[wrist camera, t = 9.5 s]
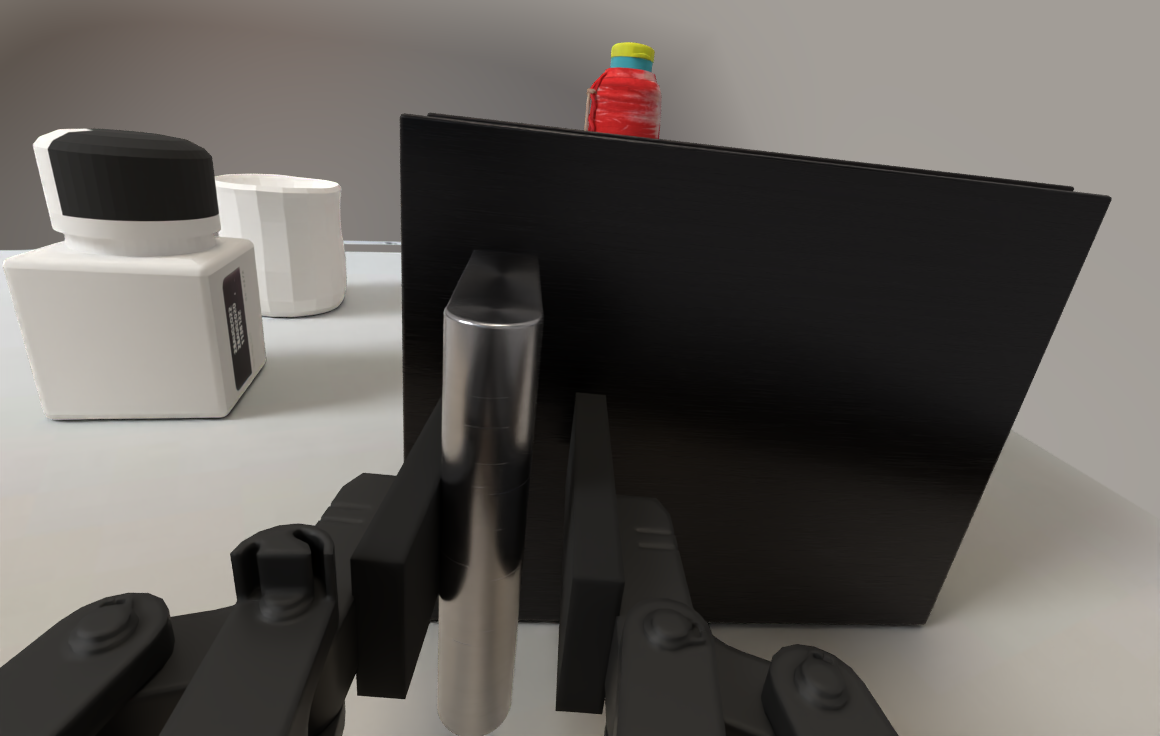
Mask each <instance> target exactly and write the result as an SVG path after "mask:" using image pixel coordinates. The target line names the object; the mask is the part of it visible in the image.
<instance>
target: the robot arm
mask: <svg viewBox="0 0 1160 736" xmlns="http://www.w3.org/2000/svg"><path fill="white" fill-rule="evenodd" d="M441 447H442V396H441V397H440V399H439V401H438V403H437V405H436V406H435V408H434V410H433V412H432V413H431V415H430V417H429V419H428V421H427V422H426V424H425V426H424V428H423V430H422V431H421V433H420V435H419V437H418V438H417V440H416V442H415V444H414V446H413V447H412V449H411V451H410V453H409V455H408V456H407V458H406V460H405V462H404V463H403V465H402V467H401V469H400V471H399V472H398V474H397V476H392V475H381V474H370V473H362V474H361V475H359V476H358V477H356V478H355V479H353V480H352V481H350V482H349V483H347V484H346V485H344V486H343V487H342V488H341V490H340V491H339V493H338V494H337V496H336V497H335V498H334V500H333V501H332V503H331V507H330V506H329V507H328V508H327V510H326V511H325V513H324V514H323V516H322V517H321V521H318V523H317V524H316V526H313V525H306V524H289V525H279V526H276V527H273V528H270V529H266V530H263V531H260V532H258V533H256V534H255V535H253V536H251V537H249V538H248V539H246V540H244V541H242V542H241V543H240V544H239V545H238V546H237V547H236V548H235V549H234V550H233V551H232V552H231V553H230V556H231V562H232V569H233V576H234V582H235V589H236V596H237V602H236V604H235V605H233V606H230V607H225V608H221V609H217V610H211V611H205V612H199V613H193V614H186V615H180V616H174V617H170V613H169V609H168V607H167V606H166V604H165V602H164V601H163V599H161V598H159V597H157V596H154V595H152V594H149V593H125V594H121V595H116V596H111V597H106V598H103V599H101V600H98V601H96V602H94V603H91V604H89V605H86V606H84V607H81V608H80V609H78V610H76V611H75V612H73V613H72V614H70V615H69V616H67V617H65V618H64V619H62V620H61V621H59V622H58V623H57V624H55V625H54V626H53V627H51V628H50V629H49V630H48V631H46V632H45V633H44V634H43V635H41V636H40V637H39V638H38V639H36V640H35V641H34V642H32V643H31V644H30V645H29V646H27V647H26V648H25V649H24V650H22V651H21V652H20V653H19V654H17V655H16V656H15V657H13V658H12V659H11V660H10V661H8V662H7V663H6V664H5V665H3V666H2V667H1V668H0V736H342V733H343V730H344V726H345V698H346V695H347V693H348V691H349V688H350V686H351V683H352V681H353V679H354V676H355V674H356V679H357V696H370V697H383V698H396V699H405V698H406V695H407V692H408V689H409V686H410V682H411V679H412V676H413V673H414V670H415V667H416V663H417V660H418V657H419V654H420V651H421V648H422V645H423V641H424V638H425V635H426V632H427V629H428V626H429V623H430V619H431V616H432V613H433V610H434V607H435V604H436V600H437V597H438V594H439V568H440V508H441ZM604 700H605V705H606V727H605V732H604V736H898V734H897V733H896V731H895V730H894V728H893V727H892V725H891V724H890V722H889V720H888V719H887V717H886V716H885V714H884V713H883V711H882V710H881V708H880V707H879V705H878V704H877V702H876V701H875V699H874V697H873V696H872V694H871V693H870V691H869V690H868V688H867V687H866V685H865V684H864V682H863V681H862V680H861V679H860V678H859V677H858V675H857V674H856V673H855V672H854V671H853V670H852V668H851V667H849V666H848V665H847V664H845V663H844V662H842V661H841V660H840V659H838V658H837V657H836V656H834V655H833V654H830V653H828V652H826V651H823V650H821V649H819V648H816V647H812V646H806V645H799V644H796V645H791V646H787V647H782V648H781V649H780V650H779V651H778V652H777V653H776V654H775V655H774V656H773V657H772V660H771V662H770V661H767V660H765V659H762V658H759V657H756V656H753V655H751V654H748V653H745V652H742V651H739V650H737V649H735V648H733V647H731V646H728V645H726V644H725V643H723V642H722V641H720V640H719V639H717V638H716V637H714V636H713V635H712V632H711V630H710V627H709V625H708V624H707V622H706V621H705V620H704V619H703V618H702V616H701V615H700V614H699V613H698V612H696V611H695V610H694V608H693V606H692V601H691V597H690V593H689V589H688V585H687V581H686V577H685V573H684V569H683V565H682V561H681V557H680V553H679V550H678V544H677V540H676V536H675V535H674V528H673V524H672V520H671V516H670V514H669V512H668V511H667V510H666V509H665V508H664V506H663V505H662V504H661V503H660V502H659V500H658V499H657V498H650V497H640V496H629V495H618V494H616V490H615V480H614V471H613V461H612V451H611V442H610V432H609V422H608V412H607V403H606V395H598V394H588V393H577V392H576V397H575V406H574V415H573V424H572V432H571V441H570V450H569V458H568V467H567V476H566V485H565V508H564V531H563V554H562V577H561V600H560V622H559V645H558V668H557V691H556V711H566V712H579V713H592V714H602V712H603V706H604Z"/></svg>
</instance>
